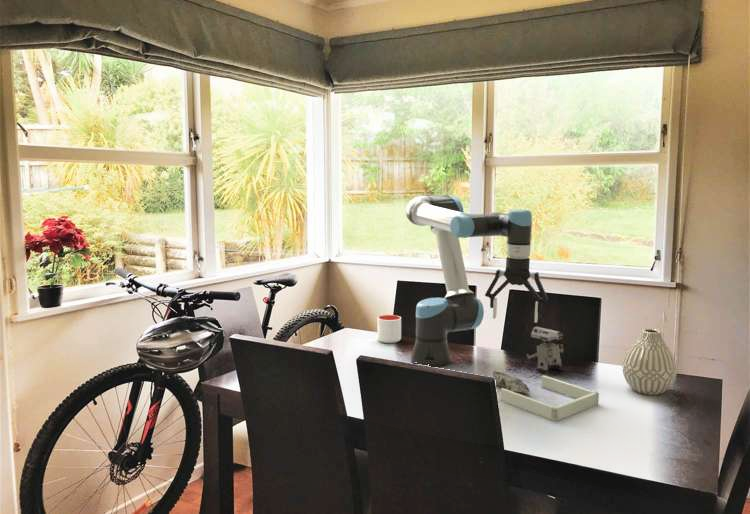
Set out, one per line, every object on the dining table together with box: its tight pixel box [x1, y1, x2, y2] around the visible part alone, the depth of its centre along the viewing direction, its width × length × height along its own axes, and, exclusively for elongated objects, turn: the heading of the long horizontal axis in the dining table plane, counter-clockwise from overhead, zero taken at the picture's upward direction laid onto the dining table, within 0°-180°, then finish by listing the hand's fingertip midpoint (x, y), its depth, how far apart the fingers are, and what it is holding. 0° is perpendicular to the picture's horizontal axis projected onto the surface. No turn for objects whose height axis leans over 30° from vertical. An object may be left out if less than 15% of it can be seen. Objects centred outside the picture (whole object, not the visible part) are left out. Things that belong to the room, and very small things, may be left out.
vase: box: [622, 328, 678, 396], centre depth 194 cm, size 16×16×20 cm
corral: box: [499, 374, 600, 422], centre depth 186 cm, size 20×21×4 cm
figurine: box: [523, 326, 565, 375], centre depth 216 cm, size 9×12×15 cm
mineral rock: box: [492, 370, 530, 394], centre depth 198 cm, size 15×8×4 cm, turn 15°
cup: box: [377, 314, 402, 344], centre depth 255 cm, size 10×10×10 cm
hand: (514, 319), depth 201 cm, fingers open, 13 cm apart
